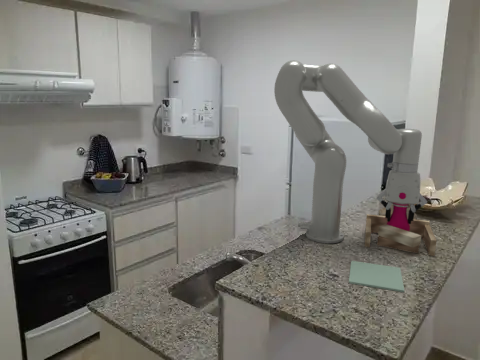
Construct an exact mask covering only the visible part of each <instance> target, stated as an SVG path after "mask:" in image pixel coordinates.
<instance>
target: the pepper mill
mask: <svg viewBox="0 0 480 360" xmlns="http://www.w3.org/2000/svg"><path fill="white" fill-rule="evenodd" d="M399 194H400V195H399V198H400V199H405V198H406V194H405V193H399ZM392 204H393V213H392V215H391V217H390V221H389V222H387V225H390V226H393V227H396V228H400V229H403V230H406V231H410V225H409V223H408V218H407V207H408V206H410V204H402V203H392Z"/></svg>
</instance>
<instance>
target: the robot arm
mask: <svg viewBox="0 0 480 360" xmlns="http://www.w3.org/2000/svg"><path fill="white" fill-rule="evenodd" d="M273 88H274V99H275V102H276V105H277V107H278V109H279V111H280V113H281V114H282V115H283V117H284V118H285V120H286V122H287V123H288V125H289V126H290V128H291V129H292V131H293V132H294V135H295V137H296V139H297V140H298V141H299V143H300V144H301V146H302V147H303V149H304V150H305V152H306V153H307V155H309V156H310V158H311V159H312V161H313V163H314V173H313V174H314V175H313V184H312V185H313V186H312V201H311V202H312V203H311V220H310V221H307V222H304V221H298V223H297V227H298V228H300V230H306V231H305V236H306V238H307V239H309V240H310V241H313V242H317V243H323V244H336V243H340V242H342V241H344V238H345V234H344V233H343V232H341V231H340V230H341V229H340V228H341V218H342V217H341V216H342V205H343V204H342V203H343V190H344V181H345V173H346V168H347V156H346V153H345V151H344V149H343V148H342V147H341V146H339V145H338V144H336V142H335V141H334V140H333V139H332V137H331V136H330V134H329V133H328V131H327V129H326V126H325V124H324V122H323V120H321V119H320V118H319V116H318V115H317V114H316V112H315V111H314V110H313V108H312V107H311V106H310V103H309V102H308V100H307V99H306V98H305V95H304V92H315V93H316V92H317V93H321V92H322V93H323V94H325V96H326V97H327V98H328V100H329V101H331V103H332V104H333V105H334V106H335V107H336V109H337V110H338V111H339V112H340V113H341V115H343V116H344V117H345V118H346V120H348V121H350V122H351V123H352V124H354V125H356V126H357V127H358V129H360V130H361V131H362V132H363V133H364V134H365V135H366V136H367V142H368V145H369V146H370V148H372V149H374V150H375V151H377V152H380V153H382V154H384V155H393V158H392V162H387V168H389V169H391V170H389V172H388V175H387V179H386V184H385V189H384V190H383V191H381V192H380V193H379V194H378V195H376V200H377V201H378V202H379V203H380V204H381V206H383V208H384V207H385V208H386V214H385V218H387V221H388V222H389V221H390V215H391V208H390V207H391V205H392V203H402V204H409V206H410V207H411V208H410V210H409V214H408V223H409V224H411V221H413V219H414V213H416V212H417V211H418V210H419V209H421V208H422V207H423V206H425V205H427V204H428V201H427V199H426V198H425V197H424V196H423V195H422V194H421V173H419V172H418V171H419V170H418V169H419V162H420V161H419V160H420V154H421V146H422V145H421V144H422V137H423V135H422V131H421V130H420V129H415V128H399V129H397V128H396V127H395V125H393V123H392V122H391V121H390V120H389V119H388V118H387V117H386V115H385V114H384V113H382V112H381V110H380V109H378V107H376V105H374V103H373V102H372V101H371V100H370V99H368V97H366V95H365V94H364V93H363V92H362V90H360V89H359V87H358V86H357V85H356V84H355V83H354V82H353V80H352V79H351V78H350V76H348V75H347V73H346V72H345V71H344V70H343V68H341V66H339V65H338V64H336V63H327V64H323V65H311V64H303V63H302V62H300V61H299V60H289V61H287V62H285V63H283V65H282V66H281V67H280V69H279V71H278V73H277V76H276V79H275V83H274V87H273ZM303 91H304V92H303ZM399 193H405V194H406V198H405V199H400V198H399V195H400V194H399ZM384 199H385V200H384Z"/></svg>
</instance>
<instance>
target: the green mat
mask: <svg viewBox="0 0 480 360" xmlns="http://www.w3.org/2000/svg"><path fill="white" fill-rule="evenodd" d="M350 261H351V262H350V269H349V270H350V271H349V275H348V276H349V278H348V284H352V285H358V286H364V287H365V286H366V287H370V288H375V289H376V288H377V289H382V290H389V291H394V292H399V293H400V292H401V293H405V287H404V282H403V276H402V275H403V274H402V271H401V267H397V266H391V265H390V266H389V265H383V264H376V263H370V262H369V263H368V262H362V261H357V260H356V261H355V260H350Z"/></svg>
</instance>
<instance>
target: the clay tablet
mask: <svg viewBox="0 0 480 360" xmlns="http://www.w3.org/2000/svg"><path fill="white" fill-rule="evenodd" d="M390 208H391V215H392V213H393V204H392V205H391V207H390ZM410 208H411V207H410V205H409V206H408V207H407V218H408V214H409V210H410ZM385 214H386V208H385V207H384V206H383V208H381V209H379V210H378V215H379V216H385ZM391 215H390V217H391ZM414 219H416V220H418V214H416V212H414Z"/></svg>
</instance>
